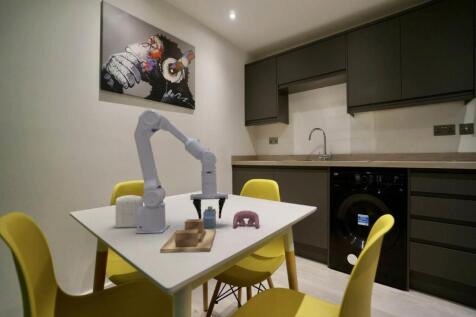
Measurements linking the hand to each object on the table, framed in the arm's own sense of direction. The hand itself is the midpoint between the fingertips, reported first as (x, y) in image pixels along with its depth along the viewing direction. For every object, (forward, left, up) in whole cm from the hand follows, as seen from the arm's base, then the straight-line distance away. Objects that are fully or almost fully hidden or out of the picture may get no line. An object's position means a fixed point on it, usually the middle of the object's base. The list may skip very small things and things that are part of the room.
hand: (210, 218), depth 84 cm
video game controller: (+14, -1, -3) cm, 14 cm away
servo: (0, 0, -3) cm, 3 cm away
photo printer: (-32, +2, -3) cm, 32 cm away
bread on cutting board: (-4, -15, -3) cm, 16 cm away
